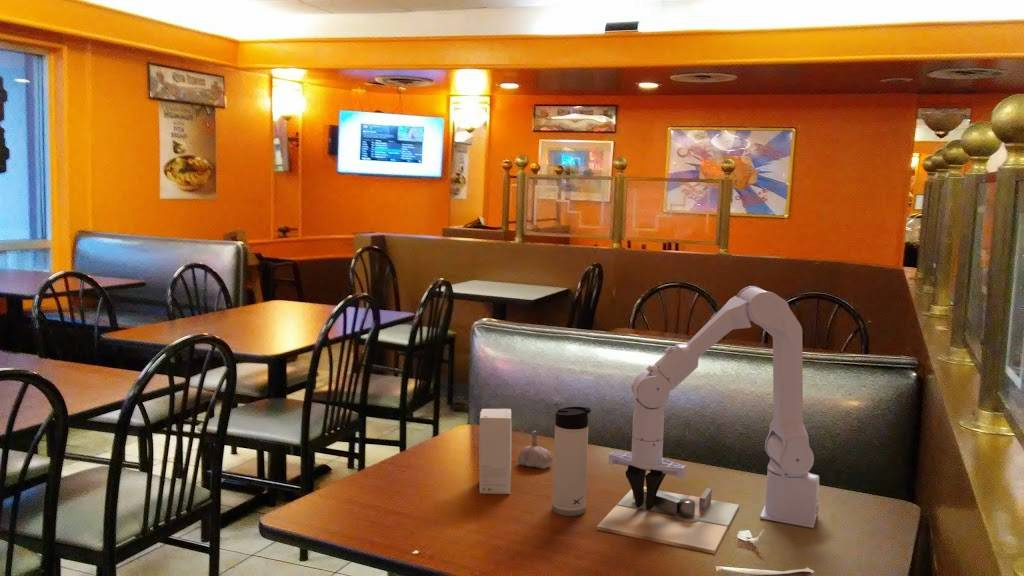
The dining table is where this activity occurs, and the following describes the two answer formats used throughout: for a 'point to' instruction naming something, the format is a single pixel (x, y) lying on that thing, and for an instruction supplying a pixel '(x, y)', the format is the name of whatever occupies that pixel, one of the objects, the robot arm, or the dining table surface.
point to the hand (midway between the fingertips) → (644, 506)
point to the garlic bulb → (535, 455)
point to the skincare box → (495, 451)
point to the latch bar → (673, 504)
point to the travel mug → (570, 461)
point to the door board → (673, 522)
